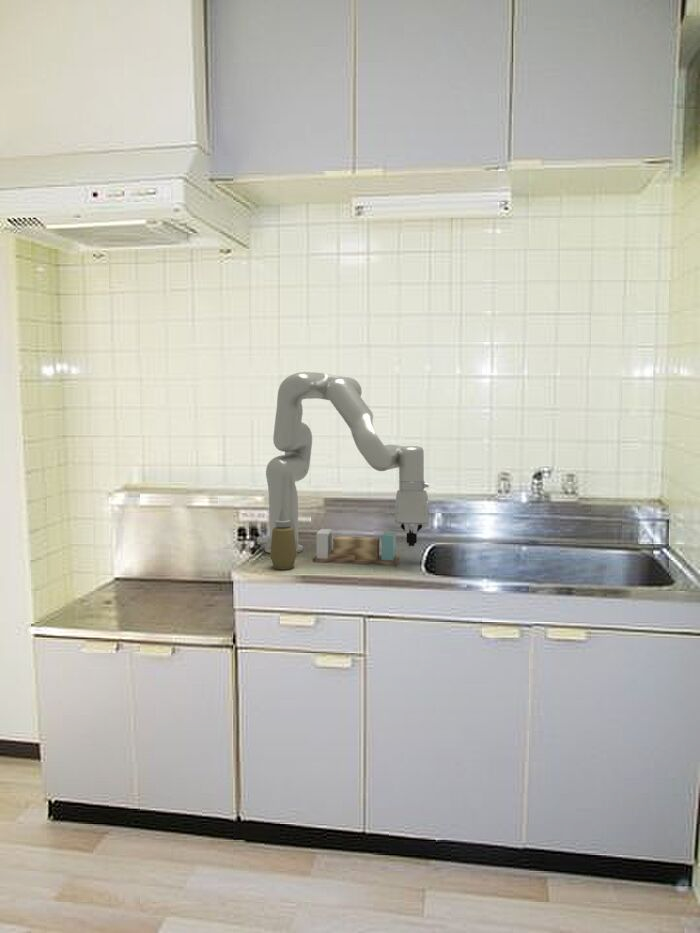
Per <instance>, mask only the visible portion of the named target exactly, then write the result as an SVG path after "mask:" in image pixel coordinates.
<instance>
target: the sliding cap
mask: <svg viewBox="0 0 700 933" xmlns="http://www.w3.org/2000/svg"><path fill="white" fill-rule="evenodd" d="M381 555H382V560H391V561H393V560H394V558H395V556H397V532H396V531H391V530H390V531H387V530H385V531H384V532H383V533H382V535H381Z"/></svg>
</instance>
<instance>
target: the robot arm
mask: <svg viewBox="0 0 700 933" xmlns="http://www.w3.org/2000/svg"><path fill="white" fill-rule="evenodd" d="M361 396H362V386H361V384H360V382H358V381H357V380H356V379H355V378H353V377H349V376H348V377H346V376H341V375H340V376H339V375H334V374H330V373H329V374H328V373H324V372H316V371H315V372H311V371H310V372H309V371H300V372H296V373H292V374H290V375H289V376H287V377H286V378H285V379H283V380H282V382H281V383H280V384H279V387H278V391H277V397H276V398H277V400H276V402H277V403H276V410H275V411H276V412H275V417H274V418H275V420H274V428H273V429H274V430H273V439H272V440H273V445H274V447H275V448H276V449H277V450H278V451H280V452H284V454H283V455H281V454H280V455H278V456H275V457H274V458H272V459H271V460H270V461H269V462H268V464H267V466H266V470H265V478H266V482H267V487H268V517H269V518H268V519H269V520H268V525H269V527H268V528H269V531H268V532H269V536H266V537H262V536H261V537H260V536H258V537H257V538H256V539H257V543H258V544H259V545H266V546H265V547H264V551H265V552H266V553H268V554H270V552H271V541H272V530H273V528H275V527H276V526H275V521H276V520H279V517H280V512H281V509H282V508H285V511H286V515H287V520H291V526H290V527H292V528H293V529H294V533H295V542H296V551H297V554H298V553H301V552H302V551H303V550H304V546H303V545H301V544H299V496H298V490H297V486H296V482H299V481H301V480H303V479H305V478H306V476H307V475H308V472H309V469H310V465H311V455H312V445H313V434H312V431H311V429H310V426H308V424H306V423H304V422H302V420H303V414H304V413H303V404H302V401H303V400H309V399H310V400H311V399H312V400H313V399H317V400H319V399H321V400H325V401H326V400H327V401H330V403H331V404H332V405H333V407H334V408H335V409H336V411H337V412H338V414H339V415H340V417H341V418H342V419H343V421H344V422H345V424H346V425H347V427H348V428H349V429H350V432H351V436H352V438H353V441H354V444H355V446H356V448H357V450H358V451H359V452H360V454H361V455H362V457H363V458H364V460H365V461H366V463H368V465H369V466H370V467H371V468H372V469H374V470H375V471H378V472H385V471H388V470H392V469H393V470H394V469H397V468H398V474H399V475H398V478H399V480H398V482H399V484H398V485H399V486H398V487H399V488H398V490H397V491H396V495H395V503H394V505H395V506H394V524H393V525H394V527H397V528H401V529H402V530H403V531H404V532H405V533H406V544H408V547H414V546H415V545H416V544H417V539H418V535H417V534H418V532H419V531H420V530H421V529H424V528H428V527H429V526H430V522H429V498H428V492H427V490H424V489H425V488H426V489H427V488H429V486H430V485H429V482H426V481H425V480H424V479H425V478H424V477H425V476H424V474H425V473H424V472H425V470H424V468H425V464H424V462H425V461H424V460H425V457H424V456H425V455H424V454H425V452H424V449H423V447H422V446H418V445H405V446H404V445H397V444H386V445H385V444H384V443H383V442H382V441H381V439H380V437H379V436H378V435H377V433H376V431H375V429H374V426H373V420H374V414H373V412H372V411H371V408H369V406H368V405H367V404H366V402H365V400H364V399H363V398H362V397H361ZM411 524H413V529H412V530H411V527H410V526H411Z"/></svg>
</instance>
